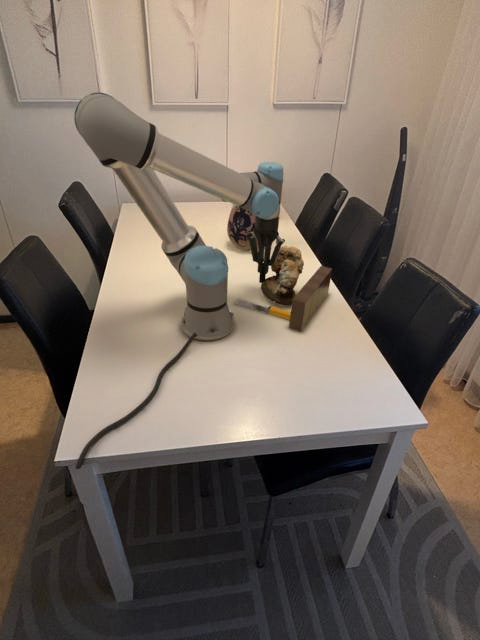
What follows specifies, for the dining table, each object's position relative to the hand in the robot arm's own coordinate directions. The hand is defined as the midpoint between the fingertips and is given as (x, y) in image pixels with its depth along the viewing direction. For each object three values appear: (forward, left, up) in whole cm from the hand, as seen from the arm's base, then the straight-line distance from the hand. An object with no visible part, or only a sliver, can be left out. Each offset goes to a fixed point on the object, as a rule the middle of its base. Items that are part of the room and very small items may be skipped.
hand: (262, 281), depth 135 cm
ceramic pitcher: (+33, +22, -4) cm, 40 cm away
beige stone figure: (0, -6, -3) cm, 7 cm away
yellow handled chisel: (-12, -7, -3) cm, 14 cm away
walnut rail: (-4, -19, -3) cm, 20 cm away
